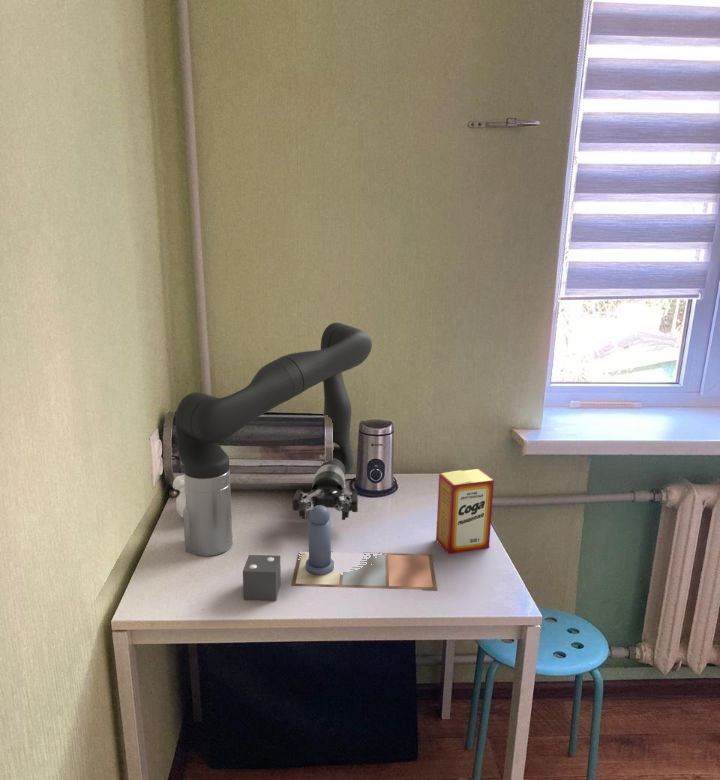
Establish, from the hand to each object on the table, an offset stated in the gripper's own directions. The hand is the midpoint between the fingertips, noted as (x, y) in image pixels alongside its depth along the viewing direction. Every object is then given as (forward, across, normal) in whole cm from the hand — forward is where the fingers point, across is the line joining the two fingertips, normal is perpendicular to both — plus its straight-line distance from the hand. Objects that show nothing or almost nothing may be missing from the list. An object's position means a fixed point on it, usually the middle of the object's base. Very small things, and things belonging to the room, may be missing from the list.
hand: (323, 515), depth 141 cm
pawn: (+10, 0, +7) cm, 12 cm away
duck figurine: (-12, -32, +7) cm, 35 cm away
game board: (+10, +9, +7) cm, 15 cm away
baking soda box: (-2, +30, +7) cm, 31 cm away
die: (+18, -10, +7) cm, 22 cm away
